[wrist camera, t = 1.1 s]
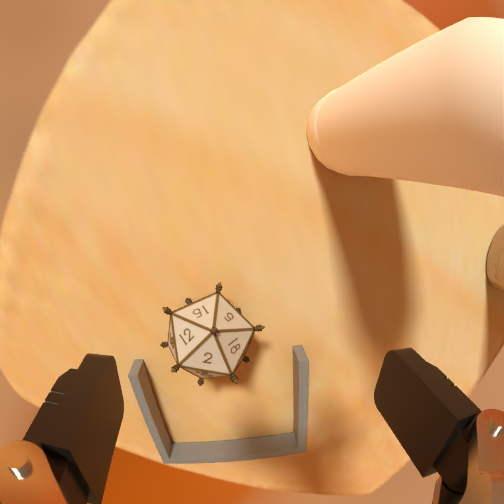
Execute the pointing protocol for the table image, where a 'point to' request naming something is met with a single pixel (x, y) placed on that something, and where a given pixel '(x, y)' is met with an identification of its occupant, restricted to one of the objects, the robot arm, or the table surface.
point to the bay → (228, 448)
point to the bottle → (422, 113)
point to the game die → (209, 337)
